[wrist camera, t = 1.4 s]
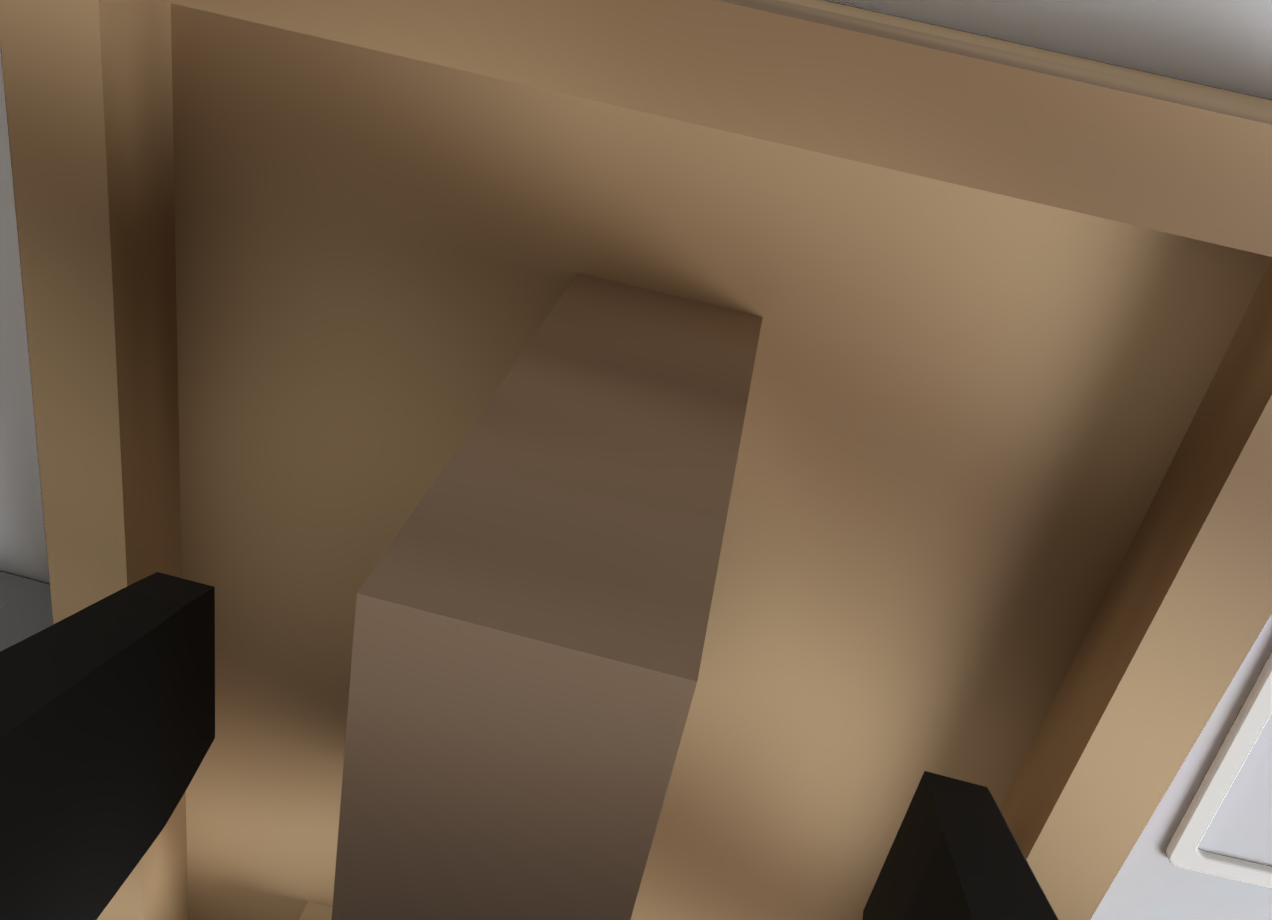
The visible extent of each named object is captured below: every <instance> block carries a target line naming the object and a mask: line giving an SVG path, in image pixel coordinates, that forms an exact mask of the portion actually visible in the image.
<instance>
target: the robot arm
mask: <svg viewBox="0 0 1272 920" xmlns="http://www.w3.org/2000/svg"><path fill="white" fill-rule="evenodd" d="M214 739H215V587H214V586H210V585H206V584H202V583H198V582H194V581H190V580H187V579H183V578H179V577H175V576H171V575H167V574H163V573H160V572H156V573H154V574H152V575H150V576H148V577H145V578H143V579H141V580H139V581H137V582H135V583H133V584H131V585H129V586H127V587H125V588H123V589H121V590H119V591H117V592H115V593H113V594H111V595H109V596H107V597H105V598H104V599H102V600H100V601H98V602H96V603H94V604H92V605H90V606H88V607H86V608H84V609H82V610H80V611H78V612H77V613H75V614H73V615H71V616H69V617H67V618H65V619H63V620H61V621H59V622H57V623H55V624H53V625H51V626H50V627H48V628H46V629H44V630H42V631H40V632H38V633H36V634H34V635H32V636H30V637H28V638H26V639H24V640H22V641H20V642H18V643H16V644H14V645H12V646H10V647H8V648H6V649H4V650H2V651H0V920H97V918H98V917H99V916H100V914H101V913H102V912H103V910H104V909H105V908H106V906H107V905H108V904H109V902H110V901H111V900H112V898H113V897H114V895H115V894H116V893H117V891H118V890H119V889H120V887H121V886H122V885H123V883H124V882H125V881H126V879H127V878H128V876H129V875H130V874H131V872H132V871H133V870H134V868H135V867H136V866H137V864H138V863H139V861H140V860H141V859H142V857H143V856H144V855H145V853H146V852H147V851H148V849H149V848H150V846H151V845H152V844H153V842H154V841H155V839H156V838H157V837H158V835H159V834H160V833H161V831H162V830H163V828H164V827H165V825H166V824H167V822H168V820H169V818H170V817H171V815H172V813H173V812H174V810H175V808H176V807H177V805H178V803H179V801H180V800H181V798H182V796H183V795H184V793H185V791H186V789H187V788H188V786H189V784H190V782H191V781H192V779H193V777H194V775H195V773H196V772H197V770H198V768H199V766H200V764H201V762H202V761H203V759H204V757H205V755H206V753H207V751H208V750H209V748H210V746H211V744H212V742H213V741H214ZM863 920H1059V919H1058V918H1057V916H1056V914H1055V912H1054V910H1053V908H1052V906H1051V905H1050V903H1049V901H1048V899H1047V897H1046V895H1045V894H1044V892H1043V890H1042V888H1041V886H1040V884H1039V883H1038V881H1037V879H1036V877H1035V875H1034V873H1033V871H1032V869H1031V868H1030V866H1029V864H1028V862H1027V860H1026V858H1025V856H1024V854H1023V852H1022V851H1021V849H1020V847H1019V845H1018V843H1017V841H1016V839H1015V837H1014V835H1013V834H1012V832H1011V830H1010V828H1009V826H1008V824H1007V822H1006V820H1005V818H1004V817H1003V815H1002V813H1001V811H1000V809H999V807H998V805H997V804H996V802H995V800H994V798H993V796H992V795H991V793H990V791H989V789H988V788H987V787H985V786H981V785H977V784H973V783H970V782H966V781H962V780H958V779H954V778H950V777H946V776H943V775H939V774H935V773H931V772H927V771H924V773H923V775H922V778H921V780H920V782H919V785H918V787H917V789H916V791H915V794H914V796H913V798H912V801H911V803H910V805H909V807H908V810H907V812H906V814H905V817H904V819H903V821H902V823H901V826H900V828H899V830H898V833H897V835H896V837H895V839H894V842H893V844H892V846H891V849H890V851H889V853H888V855H887V858H886V860H885V862H884V865H883V867H882V869H881V871H880V874H879V876H878V878H877V880H876V883H875V885H874V887H873V890H872V892H871V894H870V896H869V899H868V901H867V903H866V906H865V908H864V910H863Z"/></svg>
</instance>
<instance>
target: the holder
mask: <svg viewBox="0 0 1272 920" xmlns="http://www.w3.org/2000/svg"><path fill="white" fill-rule="evenodd" d="M53 624H54V623H53V613H52V602H51V591H50V584H46V583H42V582H38V581H34V580H31V579H27V578H23V577H19V576H15V575H12V574H8V573H4V572H0V651H2V650H4V649H6V648H8V647H10V646H12V645H14V644H16V643H18V642H20V641H22V640H24V639H26V638H28V637H30V636H32V635H34V634H36V633H38V632H40V631H42V630H44V629H46V628H48V627H50V626H51V625H53Z"/></svg>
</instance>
